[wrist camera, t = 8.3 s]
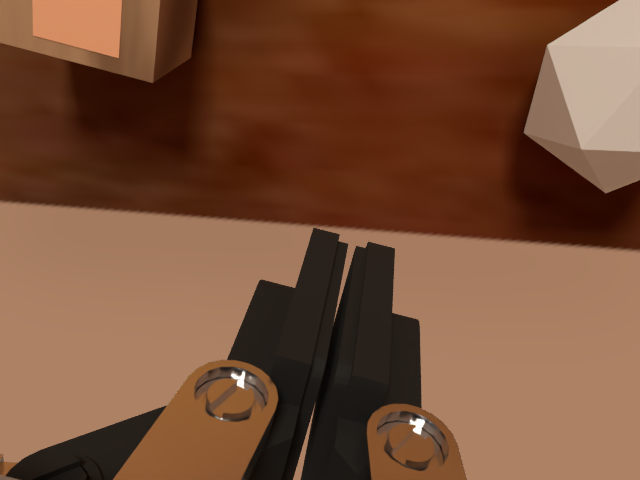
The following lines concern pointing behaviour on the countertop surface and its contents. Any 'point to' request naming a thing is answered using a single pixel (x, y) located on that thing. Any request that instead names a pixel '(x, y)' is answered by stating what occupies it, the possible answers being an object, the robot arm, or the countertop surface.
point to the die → (593, 98)
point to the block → (104, 32)
